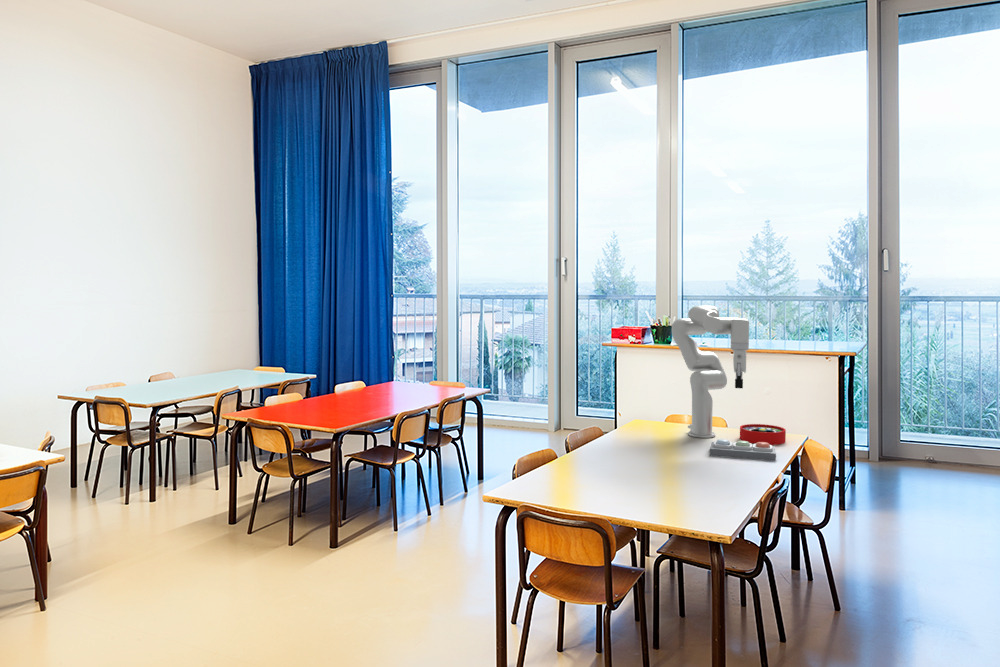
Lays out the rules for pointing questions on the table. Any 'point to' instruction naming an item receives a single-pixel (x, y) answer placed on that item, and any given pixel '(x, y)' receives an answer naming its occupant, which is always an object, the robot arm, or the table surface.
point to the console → (743, 451)
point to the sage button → (742, 443)
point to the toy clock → (763, 434)
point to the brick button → (762, 444)
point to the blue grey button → (723, 442)
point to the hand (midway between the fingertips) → (738, 387)
